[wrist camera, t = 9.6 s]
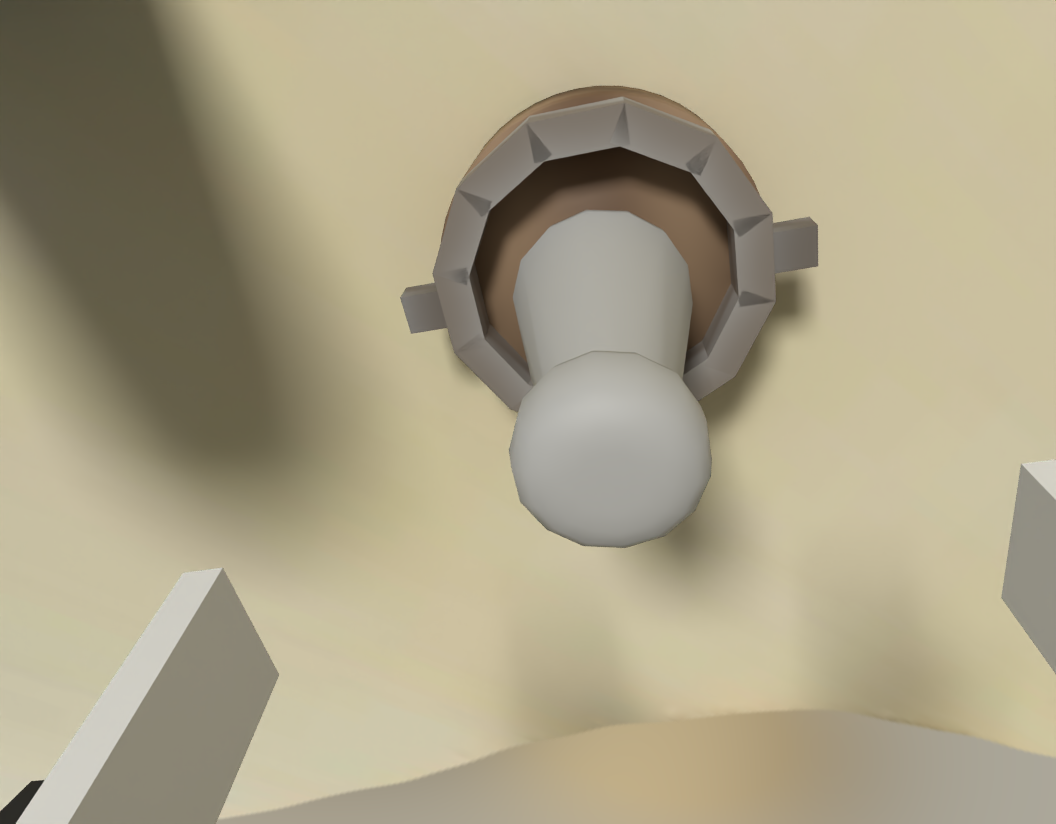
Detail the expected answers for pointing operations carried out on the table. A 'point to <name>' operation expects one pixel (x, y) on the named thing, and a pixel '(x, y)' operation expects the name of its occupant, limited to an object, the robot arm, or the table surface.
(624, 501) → the salt shaker
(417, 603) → the table surface
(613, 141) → the brown bowl with handles
